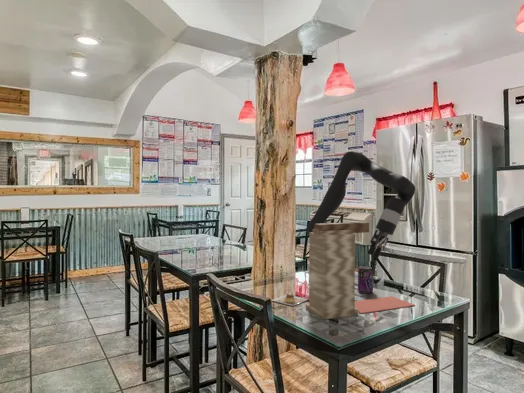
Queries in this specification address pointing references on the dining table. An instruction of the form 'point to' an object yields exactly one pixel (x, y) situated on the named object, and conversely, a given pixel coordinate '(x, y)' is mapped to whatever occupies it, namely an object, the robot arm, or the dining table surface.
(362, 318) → the dining table surface
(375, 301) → the mat
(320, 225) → the block
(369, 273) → the beverage can
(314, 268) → the pedestal
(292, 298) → the dessert
